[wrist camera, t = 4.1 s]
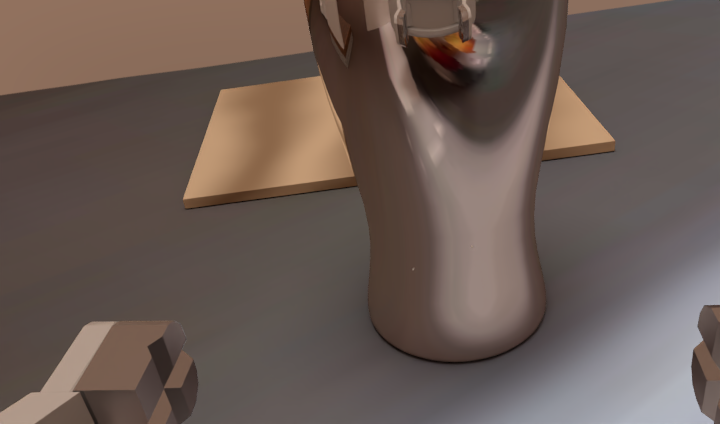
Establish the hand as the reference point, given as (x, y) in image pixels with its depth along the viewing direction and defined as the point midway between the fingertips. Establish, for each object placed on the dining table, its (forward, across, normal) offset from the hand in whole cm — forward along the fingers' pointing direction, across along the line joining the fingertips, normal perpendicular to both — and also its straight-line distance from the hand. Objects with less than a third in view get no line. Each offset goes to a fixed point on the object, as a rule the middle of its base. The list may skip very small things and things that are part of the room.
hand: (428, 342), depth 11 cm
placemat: (+26, +3, +8) cm, 28 cm away
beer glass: (+11, 0, +8) cm, 13 cm away
